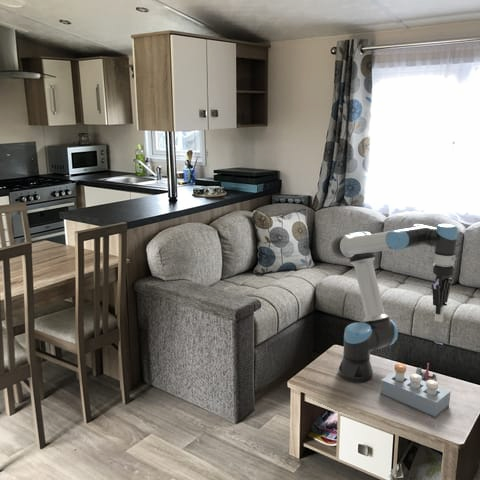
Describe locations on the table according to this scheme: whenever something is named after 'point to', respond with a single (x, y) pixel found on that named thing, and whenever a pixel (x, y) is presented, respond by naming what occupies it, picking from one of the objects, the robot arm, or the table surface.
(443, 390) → the blue peg holder block
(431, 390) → the cream plunger
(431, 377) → the brake caliper
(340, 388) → the table surface
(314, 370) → the table surface
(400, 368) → the peach ball knob
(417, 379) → the cream plunger
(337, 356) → the table surface
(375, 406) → the table surface
